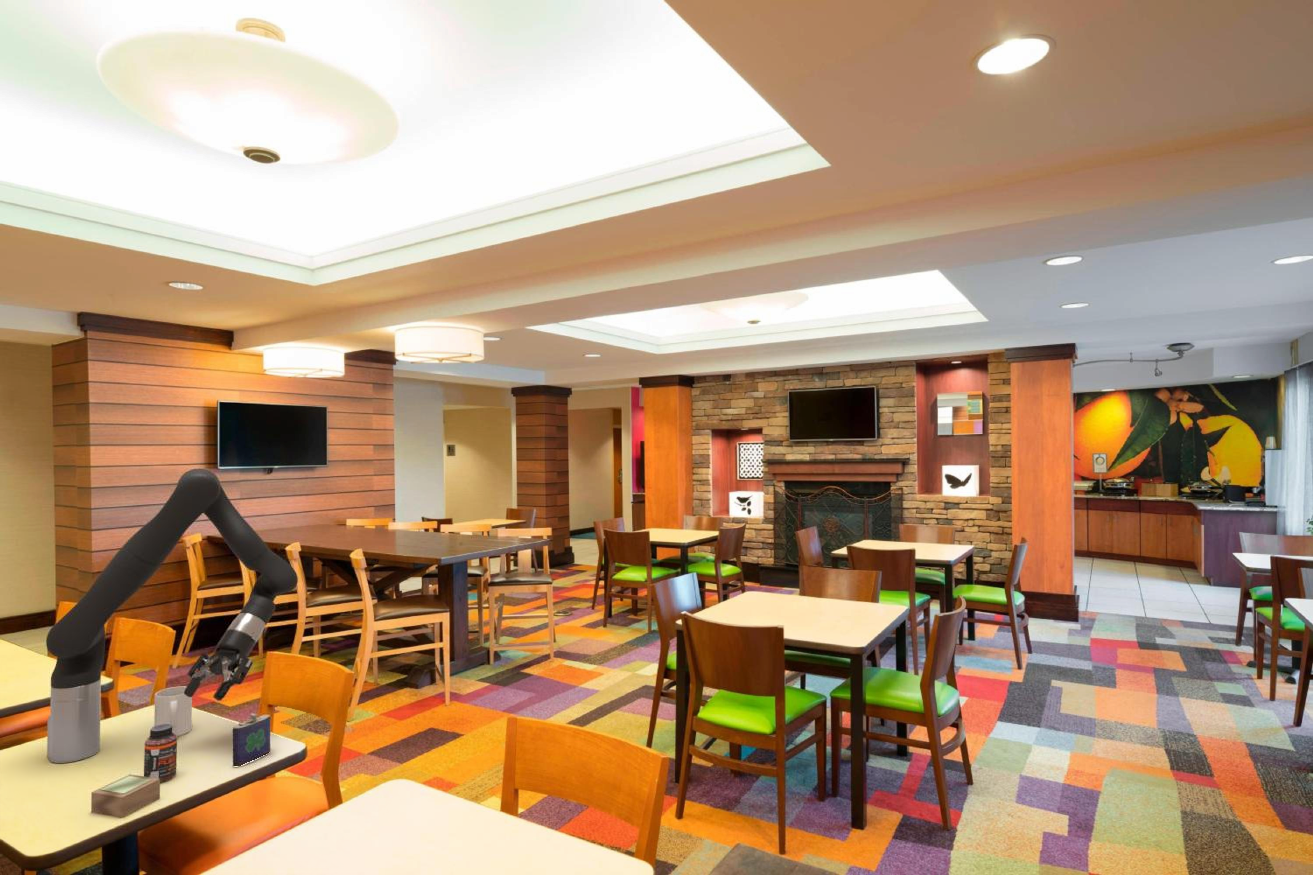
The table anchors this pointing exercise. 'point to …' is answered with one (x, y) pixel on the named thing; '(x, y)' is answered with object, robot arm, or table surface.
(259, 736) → the flask
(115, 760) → the table surface
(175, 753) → the supplement bottle
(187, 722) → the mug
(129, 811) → the block
